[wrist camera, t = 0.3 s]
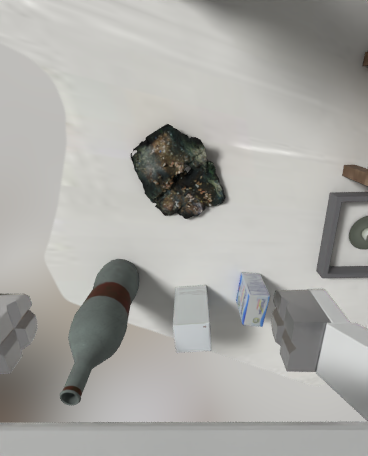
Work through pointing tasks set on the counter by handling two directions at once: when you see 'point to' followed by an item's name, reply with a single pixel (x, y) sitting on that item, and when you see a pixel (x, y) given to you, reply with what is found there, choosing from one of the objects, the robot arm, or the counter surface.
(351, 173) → the trapdoor frame
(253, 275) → the medicine box
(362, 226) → the grey knobbed disc
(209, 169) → the decorative rock
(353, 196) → the cup mat rim
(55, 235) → the counter surface
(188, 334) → the supplement box
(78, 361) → the bottle
